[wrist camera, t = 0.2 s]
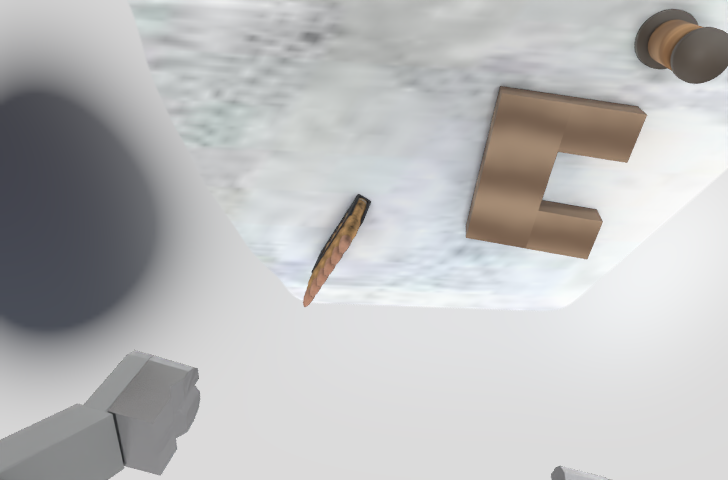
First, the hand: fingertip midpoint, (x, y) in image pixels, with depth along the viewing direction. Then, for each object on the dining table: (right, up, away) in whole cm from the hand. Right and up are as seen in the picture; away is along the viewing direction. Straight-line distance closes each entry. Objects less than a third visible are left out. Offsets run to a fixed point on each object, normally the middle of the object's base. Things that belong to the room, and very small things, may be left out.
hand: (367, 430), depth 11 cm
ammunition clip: (-2, +6, +53) cm, 53 cm away
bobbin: (+29, +23, +36) cm, 52 cm away
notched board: (+20, +12, +44) cm, 50 cm away
